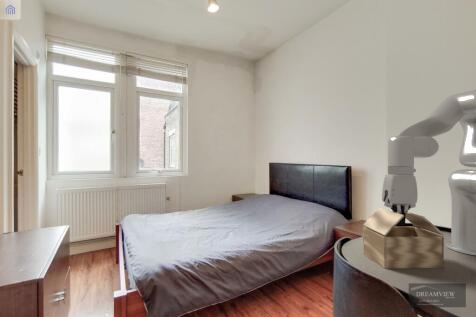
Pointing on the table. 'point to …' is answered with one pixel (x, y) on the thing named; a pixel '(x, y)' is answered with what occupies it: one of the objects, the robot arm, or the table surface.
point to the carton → (404, 248)
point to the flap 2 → (422, 222)
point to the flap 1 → (383, 221)
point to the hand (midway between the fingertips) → (399, 224)
